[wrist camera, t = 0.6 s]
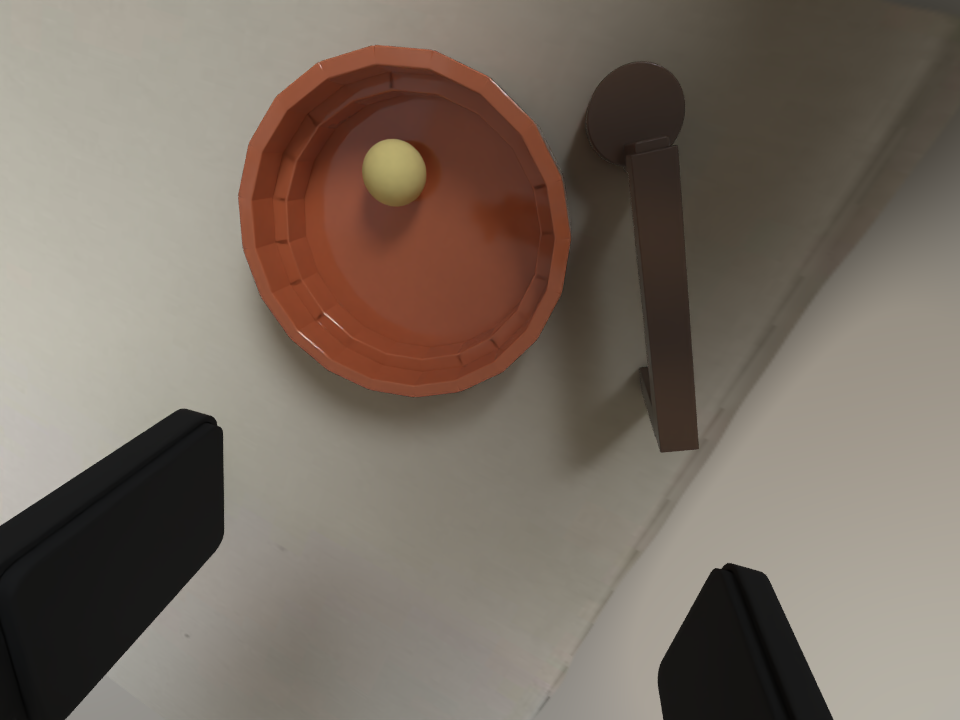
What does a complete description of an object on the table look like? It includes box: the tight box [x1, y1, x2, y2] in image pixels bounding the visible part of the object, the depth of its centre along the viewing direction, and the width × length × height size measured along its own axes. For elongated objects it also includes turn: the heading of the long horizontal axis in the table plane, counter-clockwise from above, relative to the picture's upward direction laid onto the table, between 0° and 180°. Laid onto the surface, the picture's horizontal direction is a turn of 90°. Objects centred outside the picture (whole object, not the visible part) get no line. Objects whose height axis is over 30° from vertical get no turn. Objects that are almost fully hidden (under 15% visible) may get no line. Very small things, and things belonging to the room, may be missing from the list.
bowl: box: [238, 45, 571, 397], centre depth 24 cm, size 15×15×4 cm
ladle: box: [586, 61, 699, 452], centre depth 22 cm, size 16×4×6 cm, turn 12°
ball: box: [362, 139, 426, 207], centre depth 23 cm, size 3×3×3 cm
